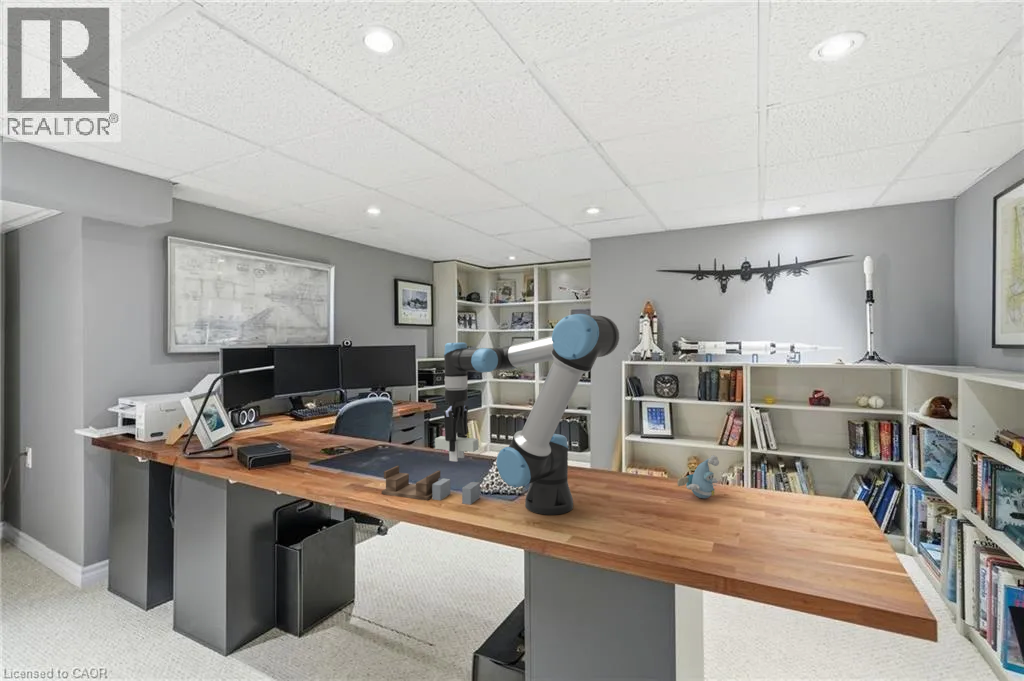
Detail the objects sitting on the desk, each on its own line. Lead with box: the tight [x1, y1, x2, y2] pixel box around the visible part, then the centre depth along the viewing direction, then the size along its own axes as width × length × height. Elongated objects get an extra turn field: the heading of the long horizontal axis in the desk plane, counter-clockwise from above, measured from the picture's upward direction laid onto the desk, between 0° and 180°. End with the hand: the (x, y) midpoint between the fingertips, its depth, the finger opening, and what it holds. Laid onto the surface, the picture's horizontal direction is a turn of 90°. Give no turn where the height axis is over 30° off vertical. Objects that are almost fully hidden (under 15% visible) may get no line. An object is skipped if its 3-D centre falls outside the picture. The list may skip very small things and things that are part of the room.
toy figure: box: [676, 454, 720, 499], centre depth 156 cm, size 17×10×15 cm, turn 129°
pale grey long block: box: [434, 435, 479, 453], centre depth 155 cm, size 14×4×4 cm, turn 69°
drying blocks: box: [431, 478, 481, 506], centre depth 156 cm, size 14×7×5 cm, turn 69°
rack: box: [381, 465, 441, 501], centre depth 162 cm, size 18×10×7 cm, turn 69°
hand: (456, 459), depth 155 cm, fingers closed on pale grey long block, 4 cm apart
